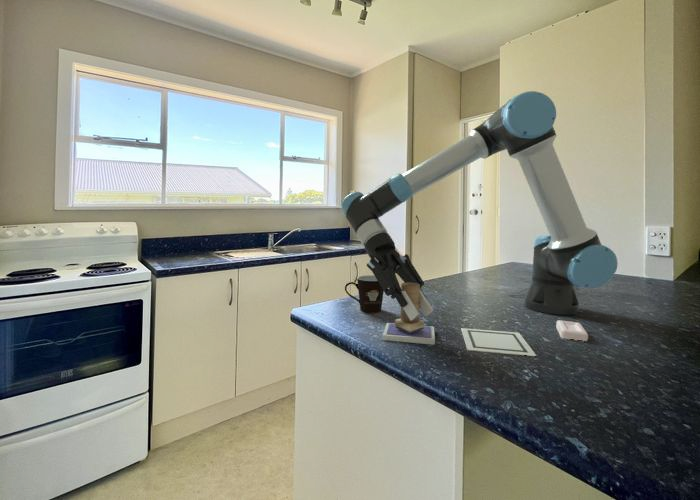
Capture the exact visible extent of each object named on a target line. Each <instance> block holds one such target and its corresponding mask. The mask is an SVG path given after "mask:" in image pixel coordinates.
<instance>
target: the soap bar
mask: <svg viewBox="0 0 700 500" xmlns="http://www.w3.org/2000/svg"><path fill="white" fill-rule="evenodd" d="M555 324H556V325H555V327H556V330H557V332H558V333H559V336H560V338H561V339H563V338H565V339H564V340H570V339H574V340H573V341H577V340H583V341H582V342H584V341H587V340H589V333H588V332H587V331H586V330H585V328H584V327H583V325H582V324H581V323H580V322H578V321H577V322H575V321H568V320H562V319H561V320H560V319H558V320H557V321H556V323H555ZM587 342H588V341H587Z"/></svg>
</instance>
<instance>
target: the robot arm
mask: <svg viewBox="0 0 700 500" xmlns="http://www.w3.org/2000/svg"><path fill="white" fill-rule="evenodd" d="M556 117H557V108H556V106H555V103H554V101H553V100H552V99H551V98H550V97H549V96H548V95H547V94H545V93H543V92H539V91H535V90H530V91H525V92H522V93H520V94H519V93H518V94H517V95H516V96H513V97H512V98H511V99H509V100H507V102H506V103H505V104H504V105H502V106H501V107H500V108H499V109H497V110H496V111H494V113H492V114H491V115H489V117H488V118H487V119H486V120H484V121H483V122H482V123H480V125H477V126H476V127H475V128H473V129H472V130H469V134H468V136H465V137H464V138H462V139H461V140H459V141H457V142H456V143H454V144H452V145H450V146H448V147H446V148H445V149H443V150H442V151H439V152H438V153H437V154H435V155H432V156H431V157H430V158H428V159H426V160H425V161H422V162H421V163H419V164H417V165H416V166H414V167H413V168H411V169H409V170H407V171H406V172H403V173H396V174H395V175H393V176H391V177H389V178H388V179H387V180H385V181H384V182H383V183H381V184H379V185H378V186H377V187H375V188H373V189H372V190H371V191H369V192H368V193H365V194H364V193H362V192H360V191H354V192H353V193H349V194H347V195H346V196H345V197H344V199H343V200H342V202H341V210H342V211H343V213H344V215H345V218H346V220H347V221H348V223H349V224H350V226H351V228H352V230H353V231H354V233H355V234H356V236H357V238H358V239H359V241H360V243H361V244H362V246H363V247H364V250H365V251H366V253H367V255H368V257H369V258H370V259H369V260H368V262H367V263H366V267H367V268H368V269H369V271H371V273H372V274H373V275H374V276H375V277H376V279H377V280H378V282H379V284H380V286H381V287H382V289H383V291H384V294H385V295H386V296H387V297H390V299H393V300H394V299H396V301H397V303H398V305H399V306H400V308H401V307H402V308H403V309H404V310H405V312H406V314H407V315H408V317H409V319H410V321H412V320H414V319H415V318H416V317H417V316H418V315H419V316H420V312H419V313H418V311H417V310H416V308H415V306H414V305H413V303H412V301H411V300H410V298H409V296H408V295H407V293H406V292H405V291H403V292H402V293H401V291H402V290H401V285H400V282H399V280H398V278H397V275H398V276H399V278H400V279H401V280H402V281H403V283H407V282H411V283H418V284H420V298H419V310H420V311H421V313H422V314H423V316H424V317H428V316H429V315H430V314H431V313H432V312H434V309H433V307H432V306H431V304H430V302H429V301H428V299H427V296H426V294H425V293H424V292H423V289H422V287H423V286H425V282H424V281H423V279H422V277H421V275H420V274H419V273H418V272H419V271H417V270H416V267H415V266H414V265H413V263H412V261H411V259H410V255H409V254H408V253H406V254H404V255H402V254H400V253H399V251H397V250H396V248H395V247H396V246H395V242H394V240H393V238H392V237H391V235H390V234H389V233H388V230H387V229H386V227H385V226H384V224H383V223H382V221H381V220H380V219H379V218H381V217H382V216H384V215H385V214H387V213H389V212H390V211H392V210H393V209H395V208H397V207H398V206H400V205H401V204H403V203H405V202H406V201H407V200H410V199H411V197H413V196H415V195H417V194H419V193H420V192H423V191H424V190H426V189H428V188H429V187H431V186H433V185H435V184H437V183H438V182H441V181H442V180H444V179H445V178H447V177H448V176H451V175H452V174H454V173H455V172H457V171H459V170H461V169H463V168H465V167H466V166H468V165H470V164H471V163H474V162H476V161H477V160H479V159H485V160H486V159H487V158H489V157H491V156H493V155H496V154H497V153H500V152H503V151H505V150H506V151H507V153H508V156H509V157H510V158H511V159H516V160H517V161H518V162H519V166H520V167H521V170H522V172H523V175H524V177H525V179H526V181H527V184H528V186H529V189H530V192H531V194H532V195H533V199H534V201H535V203H536V206H537V207H538V210H539V212H540V215H541V217H542V220H543V221H544V224H545V227H546V229H547V231H548V235H541V236H538V237H536V239H535V241H534V245H533V259H532V273H531V274H532V275H531V283H530V285H529V288H528V289H527V292H526V293H525V294H526V295H525V296H524V301H523V302H524V303H523V306H524V307H525V308H527V309H529V310H532V311H535V312H540V313H545V314H550V315H561V316H562V315H563V316H564V315H566V316H571V315H577V314H579V313H580V302H579V298H578V295H577V291H576V289H575V286H576V287H580V288H584V289H595V288H599V287H602V286H604V285H606V284H608V282H609V281H611V280H612V279H613V276H614V275H615V274H616V271H617V269H618V264H619V263H618V259H617V255H616V254H615V252H614V251H613V250H612V249H611V248H610V247H607V245H603V244H602V243H601V240H600V238H599V236H598V233H597V231H596V230H594V229H592V228H588V227H587V224H586V222H585V220H584V218H583V215H582V213H581V210H580V208H579V206H578V203H577V201H576V200H577V199H576V198H575V195H574V193H573V191H572V189H571V186H570V184H569V183H570V182H569V181H568V179H567V176H566V174H565V172H564V168H563V167H562V164H561V162H560V160H559V159H560V158H559V156H558V154H557V152H556V150H555V147H554V141H555V140H556V138H557V133H556V130H555V127H554V126H553V125H554V124H555V121H556ZM396 274H397V275H396Z"/></svg>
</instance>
